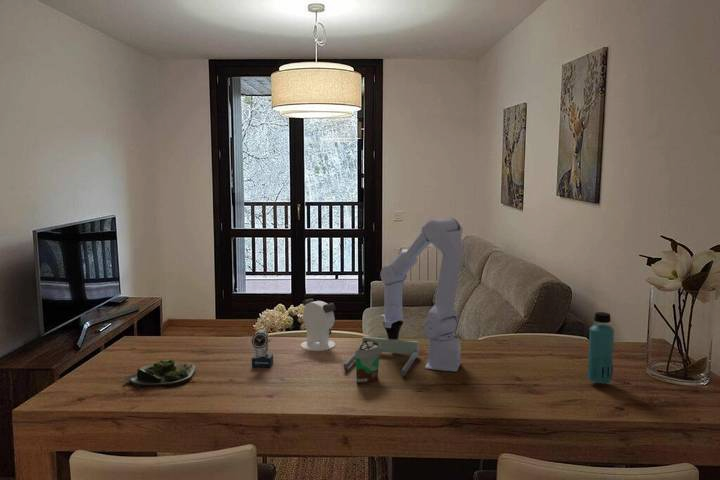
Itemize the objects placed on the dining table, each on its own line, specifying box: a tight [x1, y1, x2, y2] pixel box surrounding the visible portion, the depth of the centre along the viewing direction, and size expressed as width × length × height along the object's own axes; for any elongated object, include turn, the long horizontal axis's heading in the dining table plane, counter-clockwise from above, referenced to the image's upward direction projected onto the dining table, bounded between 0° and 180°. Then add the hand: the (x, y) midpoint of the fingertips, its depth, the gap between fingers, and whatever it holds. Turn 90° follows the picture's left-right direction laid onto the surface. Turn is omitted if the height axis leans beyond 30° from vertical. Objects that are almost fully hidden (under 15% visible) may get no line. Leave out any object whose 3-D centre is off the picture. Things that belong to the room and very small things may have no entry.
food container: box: [355, 338, 383, 385], centre depth 168 cm, size 12×6×10 cm, turn 168°
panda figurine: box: [300, 298, 336, 352], centre depth 198 cm, size 12×11×15 cm
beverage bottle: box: [586, 311, 615, 384], centre depth 163 cm, size 6×7×20 cm
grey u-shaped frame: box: [343, 336, 420, 378], centre depth 180 cm, size 18×19×5 cm
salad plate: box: [124, 358, 196, 388], centre depth 172 cm, size 19×18×5 cm
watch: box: [251, 329, 274, 369], centre depth 179 cm, size 6×8×11 cm
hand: (393, 343), depth 193 cm, fingers closed
